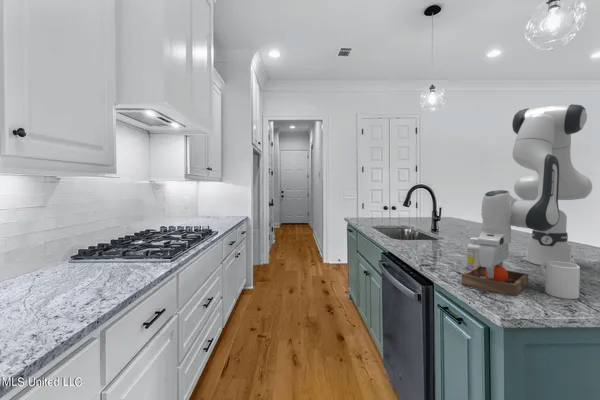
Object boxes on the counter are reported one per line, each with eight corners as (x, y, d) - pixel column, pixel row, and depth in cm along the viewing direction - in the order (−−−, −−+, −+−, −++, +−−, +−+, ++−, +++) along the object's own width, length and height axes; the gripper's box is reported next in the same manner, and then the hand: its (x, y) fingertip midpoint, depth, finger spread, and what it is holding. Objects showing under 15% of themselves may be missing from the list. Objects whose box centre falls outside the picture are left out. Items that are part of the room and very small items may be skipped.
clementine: (477, 281, 109) (477, 262, 109) (491, 279, 111) (492, 260, 111) (497, 288, 101) (498, 268, 101) (512, 286, 104) (513, 266, 103)
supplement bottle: (485, 268, 126) (486, 237, 125) (485, 272, 120) (486, 240, 120) (467, 266, 130) (467, 236, 129) (466, 269, 124) (466, 239, 123)
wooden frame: (477, 274, 118) (478, 265, 118) (528, 283, 106) (528, 274, 106) (461, 284, 106) (461, 274, 106) (515, 296, 95) (515, 285, 94)
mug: (551, 285, 104) (551, 257, 103) (586, 298, 92) (587, 267, 91) (529, 286, 103) (529, 258, 103) (561, 299, 91) (562, 268, 91)
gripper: (494, 232, 115) (493, 267, 115) (475, 239, 101) (475, 279, 102) (514, 234, 110) (513, 271, 111) (497, 241, 96) (496, 284, 97)
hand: (494, 275), depth 106 cm, fingers closed on clementine, 7 cm apart
